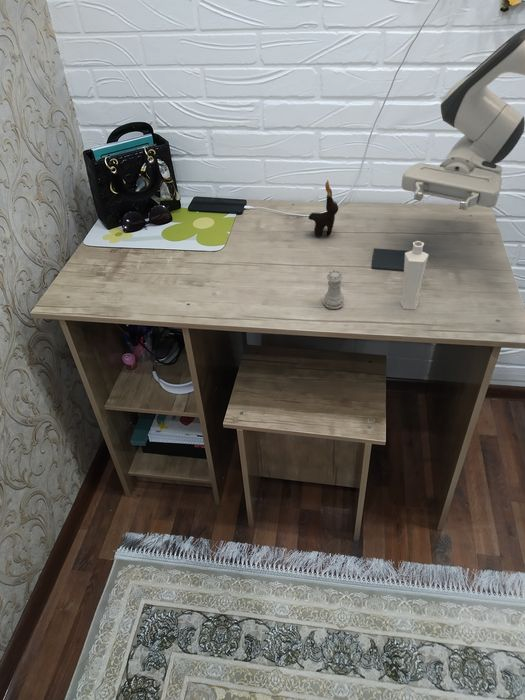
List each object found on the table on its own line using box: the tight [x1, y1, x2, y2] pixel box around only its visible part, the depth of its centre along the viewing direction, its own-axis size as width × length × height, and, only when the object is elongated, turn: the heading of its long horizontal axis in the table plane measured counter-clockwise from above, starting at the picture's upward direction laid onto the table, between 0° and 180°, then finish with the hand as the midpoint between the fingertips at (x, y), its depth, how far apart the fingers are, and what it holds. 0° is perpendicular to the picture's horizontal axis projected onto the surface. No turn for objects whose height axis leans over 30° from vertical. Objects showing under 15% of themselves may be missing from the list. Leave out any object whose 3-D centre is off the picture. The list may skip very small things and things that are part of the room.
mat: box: [370, 247, 410, 272], centre depth 133 cm, size 10×8×1 cm
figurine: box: [308, 179, 339, 237], centre depth 139 cm, size 11×7×15 cm
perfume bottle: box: [399, 240, 429, 310], centre depth 116 cm, size 5×4×15 cm
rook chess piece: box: [323, 269, 345, 310], centre depth 120 cm, size 4×4×8 cm
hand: (439, 201), depth 117 cm, fingers open, 8 cm apart
